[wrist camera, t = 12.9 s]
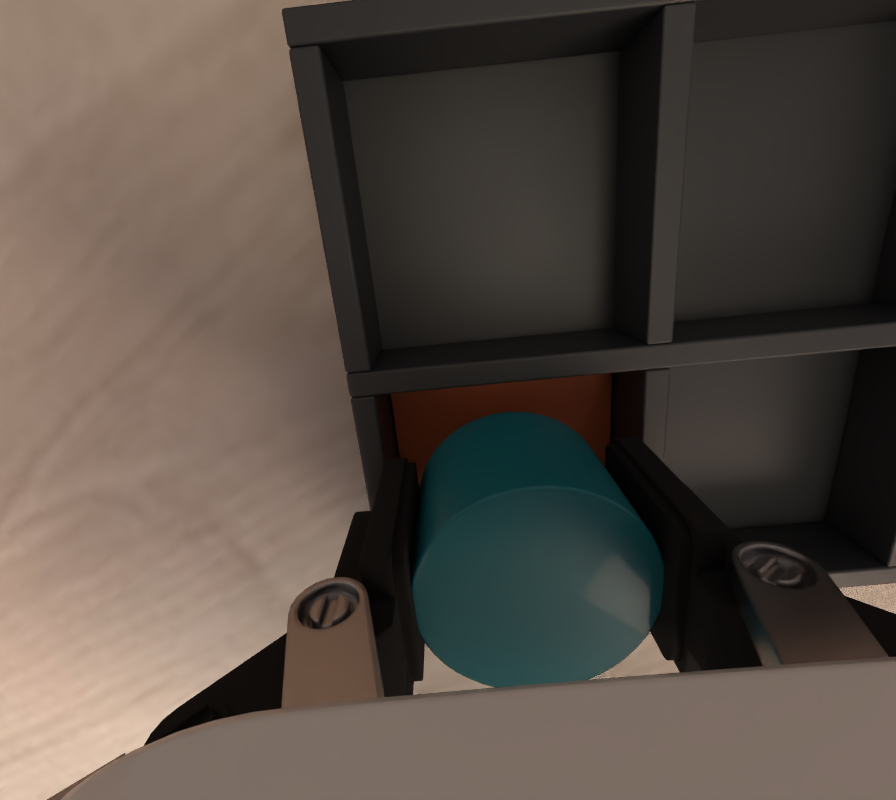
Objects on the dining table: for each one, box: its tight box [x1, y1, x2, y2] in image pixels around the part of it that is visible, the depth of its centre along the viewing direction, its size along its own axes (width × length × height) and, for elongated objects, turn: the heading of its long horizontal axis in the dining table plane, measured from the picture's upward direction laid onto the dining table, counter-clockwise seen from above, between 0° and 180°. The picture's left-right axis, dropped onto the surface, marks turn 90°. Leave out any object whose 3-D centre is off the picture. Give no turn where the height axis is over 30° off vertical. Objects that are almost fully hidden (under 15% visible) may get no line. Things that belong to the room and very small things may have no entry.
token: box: [411, 412, 664, 688], centre depth 10 cm, size 5×5×4 cm
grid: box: [282, 0, 896, 588], centre depth 12 cm, size 14×21×3 cm
